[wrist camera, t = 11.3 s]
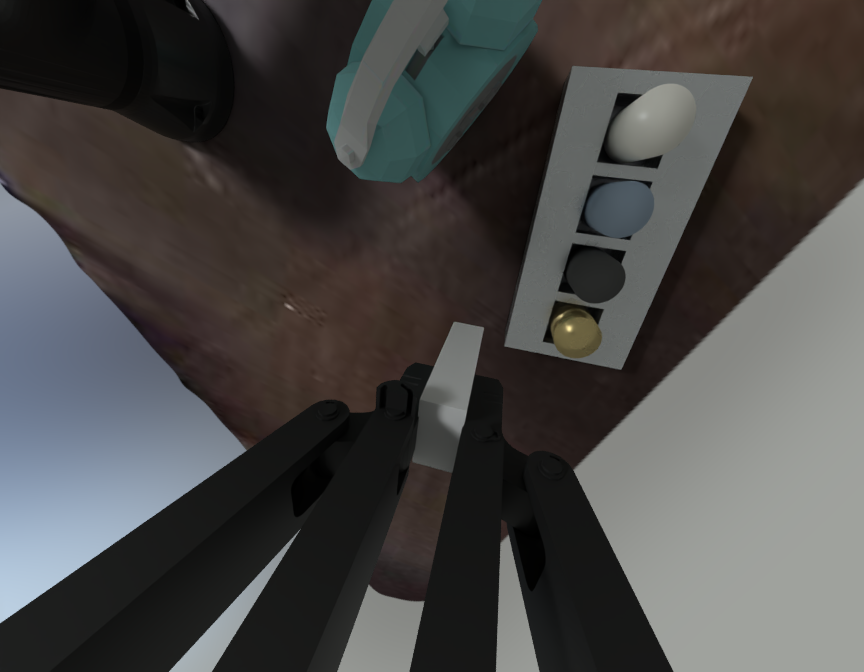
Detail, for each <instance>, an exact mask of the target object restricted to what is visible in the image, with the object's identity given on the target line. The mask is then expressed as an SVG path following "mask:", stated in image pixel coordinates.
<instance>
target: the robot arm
mask: <svg viewBox="0 0 864 672" xmlns="http://www.w3.org/2000/svg"><path fill="white" fill-rule="evenodd" d="M0 88H1V89H6V90H11V91H17V92H22V93H27V94H32V95H37V96H43V97H48V98H53V99H58V100H63V101H68V102H73V103H78V104H83V105H88V106H94V107H99V108H104V109H109V110H113V111H115V112H117V113H119V114H121V115H123V116H125V117H127V118H129V119H131V120H133V121H135V122H137V123H139V124H140V125H142V126H144V127H146V128H148V129H150V130H152V131H154V132H156V133H158V134H160V135H163V136H165V137H168V138H171V139H176V140H182V141H188V142H202V141H206V140H209V139H211V138H212V137H214V136H215V135H216V134H218V133H219V132H220V130H221V129H222V128H223V126H224V125H225V123H226V121H227V119H228V117H229V114H230V111H231V107H232V102H233V93H234V80H233V70H232V64H231V59H230V55H229V51H228V48H227V45H226V42H225V39H224V37H223V35H222V32H221V30H220V28H219V26H218V24H217V22H216V20H215V19H214V17H213V15H212V14H211V12H210V11H209V9H208V8H207V7H206V5H205V4H204V3H203V2H202V0H0ZM483 330H484V327H479V326H473V325H468V324H463V323H458V322H454V323H453V325H452V328H451V330H450V332H449V334H448V337H447V339H446V341H445V343H444V346H443V348H442V350H441V353H440V355H439V357H438V359H437V362H436V364H435V366H429V365H425V364H420V363H414V364H412V365H411V366H409V367H407V369H406V371H405V372H404V374H403V376H402V377H401V379H400V381H399V380H392V381H386V382H384V383H381V384H380V385H379V386H378V387H377V392H376V409H375V410H374V411H372V412H366V413H350V410H349V408H348V406H347V405H346V404H344V403H343V402H341V401H337V400H324V401H320V402H317V403H315V404H313V405H312V406H310V407H309V408H307V409H306V410H304V411H303V412H302V413H300V414H299V415H297V416H296V417H294V418H293V419H292V420H290V421H289V422H287V423H286V424H284V425H283V426H282V427H280V428H279V429H277V430H276V431H274V432H273V433H272V434H270V435H269V436H267V437H266V438H264V439H263V440H262V441H260V442H259V443H257V444H256V445H254V446H253V447H252V448H250V449H249V450H247V451H246V452H244V453H243V454H242V455H240V456H239V457H237V458H236V459H234V460H233V461H232V462H230V463H229V464H227V465H226V466H224V467H223V468H222V469H220V470H219V471H217V472H216V473H214V474H213V475H212V476H210V477H209V478H207V479H206V480H204V481H203V482H202V483H200V484H199V485H197V486H196V487H194V488H193V489H192V490H190V491H189V492H188V493H186V494H184V495H183V496H182V497H180V498H179V499H177V500H176V501H174V502H173V503H172V504H170V505H169V506H167V507H166V508H165V509H163V510H162V511H160V512H159V513H157V514H156V515H155V516H153V517H152V518H150V519H149V520H147V521H146V522H144V523H143V524H142V525H140V526H139V527H137V528H136V529H134V530H133V531H132V532H130V533H129V534H127V535H126V536H125V537H123V538H122V539H120V540H119V541H117V542H116V543H114V544H113V545H112V546H110V547H109V548H107V549H106V550H104V551H103V552H102V553H100V554H99V555H98V556H96V557H94V558H93V559H92V560H90V561H89V562H87V563H86V564H84V565H83V566H82V567H80V568H79V569H77V570H76V571H74V572H73V573H72V574H70V575H69V576H67V577H66V578H64V579H63V580H62V581H60V582H59V583H57V584H56V585H55V586H53V587H52V588H50V589H49V590H47V591H46V592H45V593H43V594H42V595H40V596H39V597H37V598H36V599H34V600H33V601H32V602H30V603H29V604H28V605H26V606H25V607H23V608H22V609H20V610H19V611H17V612H16V613H14V614H13V615H12V616H10V617H9V618H7V619H6V620H4V621H3V622H2V623H0V672H169V671H170V670H171V668H173V667H174V665H175V664H176V663H177V662H178V661H179V660H180V659H181V658H182V657H183V656H184V655H185V653H186V652H187V651H188V650H189V649H190V648H191V647H192V646H193V645H194V644H195V643H196V642H197V640H198V639H199V638H200V637H201V636H202V635H203V634H204V633H205V632H206V631H207V629H208V628H210V626H211V625H212V624H213V623H214V622H215V621H216V620H217V619H218V618H219V617H220V616H221V614H222V613H223V612H224V611H225V610H226V609H227V608H228V607H229V606H230V605H231V604H232V603H233V601H234V600H235V599H236V598H237V597H238V596H239V595H240V594H241V593H242V592H243V591H244V590H245V588H246V587H247V586H248V585H249V584H250V583H251V582H252V581H253V580H254V579H255V578H256V577H257V575H258V574H259V573H260V572H261V571H262V570H263V569H264V568H265V567H266V566H267V565H268V564H269V562H270V561H271V560H272V559H273V558H274V557H275V556H276V555H277V554H278V553H279V552H280V551H281V549H282V548H283V547H284V546H285V545H286V544H287V543H288V542H289V541H290V540H291V539H292V538H293V536H294V535H295V534H296V533H297V532H298V531H299V530H300V531H299V533H298V534H297V536H296V538H295V539H294V541H293V542H292V544H291V545H290V547H289V549H288V550H287V552H286V554H285V555H284V557H283V558H282V560H281V562H280V563H279V565H278V566H277V568H276V570H275V571H274V573H273V574H272V576H271V578H270V579H269V581H268V583H267V584H266V586H265V587H264V589H263V591H262V592H261V594H260V595H259V597H258V599H257V600H256V602H255V603H254V605H253V607H252V608H251V610H250V611H249V613H248V615H247V616H246V618H245V619H244V621H243V623H242V624H241V626H240V628H239V629H238V631H237V632H236V634H235V636H234V637H233V639H232V640H231V642H230V644H229V645H228V647H227V648H226V650H225V652H224V653H223V655H222V657H221V658H220V660H219V661H218V663H217V665H216V666H215V668H214V669H213V671H212V672H337V670H338V668H339V665H340V662H341V659H342V657H343V654H344V651H345V648H346V646H347V643H348V640H349V637H350V634H351V632H352V629H353V626H354V623H355V621H356V618H357V615H358V612H359V610H360V607H361V604H362V601H363V599H364V596H365V593H366V590H367V587H368V585H369V582H370V579H371V576H372V574H373V571H374V568H375V565H376V563H377V560H378V557H379V554H380V552H381V549H382V546H383V543H384V540H385V538H386V535H387V532H388V529H389V527H390V524H391V521H392V518H393V516H394V513H395V510H396V507H397V505H398V502H399V499H400V496H401V493H402V491H403V488H404V485H405V482H406V480H407V477H408V472H409V464H410V461H411V459H412V456H413V461H412V462H414V463H418V464H422V465H426V466H429V467H433V468H437V469H440V470H444V471H448V472H451V473H452V477H451V481H450V486H449V491H448V495H447V500H446V504H445V509H444V514H443V518H442V523H441V528H440V532H439V537H438V542H437V546H436V551H435V556H434V560H433V565H432V570H431V574H430V579H429V584H428V588H427V593H426V597H425V602H424V607H423V611H422V617H421V621H420V625H419V630H418V635H417V639H416V644H415V649H414V653H413V658H412V663H411V667H410V672H496V651H497V624H498V596H499V595H498V594H499V566H500V540H501V519H502V520H504V521H505V522H507V529H508V533H509V537H510V542H511V546H512V551H513V556H514V560H515V564H516V569H517V573H518V577H519V582H520V587H521V591H522V596H523V600H524V605H525V609H526V613H527V618H528V622H529V627H530V631H531V636H532V640H533V644H534V649H535V654H536V658H537V662H538V666H539V671H540V672H673V670H672V668H671V666H670V664H669V662H668V660H667V658H666V656H665V654H664V652H663V650H662V648H661V646H660V644H659V642H658V640H657V638H656V636H655V634H654V632H653V630H652V628H651V626H650V624H649V622H648V620H647V618H646V615H645V614H644V612H643V609H642V607H641V606H640V603H639V601H638V599H637V597H636V596H635V593H634V591H633V589H632V587H631V585H630V583H629V582H628V579H627V577H626V575H625V574H624V571H623V569H622V567H621V565H620V563H619V561H618V559H617V558H616V555H615V553H614V551H613V549H612V547H611V545H610V543H609V541H608V539H607V537H606V535H605V533H604V531H603V529H602V527H601V525H600V523H599V521H598V519H597V517H596V515H595V513H594V511H593V509H592V507H591V505H590V503H589V501H588V499H587V497H586V495H585V493H584V491H583V489H582V487H581V485H580V483H579V481H578V479H577V477H576V475H575V473H574V471H573V469H572V468H571V467H570V465H569V464H568V463H567V462H566V461H565V460H563V459H562V458H561V457H559V456H557V455H555V454H553V453H550V452H546V451H536V452H534V453H532V454H530V455H529V456H527V455H525V454H523V453H521V452H519V451H518V450H516V449H514V448H513V447H512V446H511V445H509V444H508V443H507V441H506V440H505V439H504V437H503V434H502V430H501V428H502V403H503V387H502V385H501V383H500V382H499V380H497V379H493V378H488V377H483V376H479V375H474V374H475V369H476V364H477V360H478V355H479V350H480V345H481V340H482V335H483Z"/></svg>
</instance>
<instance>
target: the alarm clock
mask: <svg viewBox="0 0 864 672" xmlns="http://www.w3.org/2000/svg"><path fill="white" fill-rule="evenodd" d="M541 2H542V0H372V1H371V4H370V6H369V8H368V10H367V13H366V15H365V17H364V19H363V22H362V24H361V26H360V28H359V31H358V33H357V35H356V37H355V40H354V42H353V44H352V48H351V52H350V56H349V60H348V64H347V67H345V68H344V69H343V70H342V71H340V72H339V73H338V74H337V76H336V80H335V85H334V89H333V94H332V98H331V102H330V107H329V111H328V118H327V125H326V129H327V131H328V134H329V136H330V139H331V141H332V144H333V146H334V149H335V151H336V154H337V158H338V159H339V160H340V161H341V162H342V163H343V164H344V165H345V166H347V167H348V168H349V169H350V170H351V171H352V172H353V173H354V174H355V175H356V176H357V177H358V178H359V179H365V180H373V181H384V182H395V183H402V182H403V181H405V180H406V179H407V178H409V177H410V176H412V177H413V178H414V179H415V180H416V181H417V182H420V181H421V180H422V179H424V178H425V177H426V176H427V175H428V174H429V173H430V172H431V171H432V170H433V169H434V168H435V167H436V166H437V165H438V164H439V163H440V162H441V160H442V159H443V158H444V157H445V156H446V155H447V154H448V152H449V151H450V150H451V149H452V148H453V147H454V146H455V144H456V143H457V142H458V141H459V139H460V138H461V137H462V136H463V135H464V133H465V132H466V131H467V130H468V129H469V127H470V126H471V125H472V124H473V122H474V121H475V120H476V119H477V117H478V116H479V115H480V113H481V112H482V111H483V110H484V108H485V107H486V106H487V105H488V103H489V102H490V101H491V100H492V98H493V97H494V96H495V95H496V93H497V92H498V90H499V89H500V87H501V86H502V84H503V83H504V82H505V80H506V79H507V78H508V76H509V75H510V74H511V72H512V71H513V69H514V68H515V66H516V65H517V63H518V62H519V60H520V59H521V57H522V56H523V55H524V53H525V52H526V50H527V49H528V47H529V45H530V43H531V42H532V40H533V38H534V36H535V35H536V33H537V31H538V26H537V24H536V23H535V21H534V20H533V17H534V15H535V13H536V11H537V9H538V7H539V6H540V4H541Z"/></svg>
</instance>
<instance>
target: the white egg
mask: <svg viewBox="0 0 864 672" xmlns="http://www.w3.org/2000/svg"><path fill="white" fill-rule="evenodd" d="M695 116H696V104H695V100H694V97H693V95H692V94H691V92H690V91H689V90H688V89H687V88H685V87H683V86H681V85H678V84H663V85H660V86H657V87H655V88H653V89H651V90H649V91H648V92H646V93H645V94H644V95H642V96H641V97H639V98H638V99H637V100H635V101H634V102H633V103H631V104H630V105H629V106H627V107H626V108H624V109H623V110H622V111H620V112H619V113H618V114H617V115H616V116H615V117H614V118H613V119H612V120H611V122H610V123H609V125H608V127H607V130H606V133H605V137H604V149H605V152H606V154H607V155H608V156H609V158H610V159H612V160H613V161H615V162H618V163H631V162H635V161H639V160H643V159H647V158H652V157H656V156H660V155H663V154H665V153H667V152H669V151H671V150H672V149H674V148H675V147H677V146H678V145H679V144H680V143H681V142H682V141H683V140H684V139H685V137H686V136H687V135H688V133H689V131H690V130H691V128H692V126H693V123H694V120H695Z"/></svg>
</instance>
